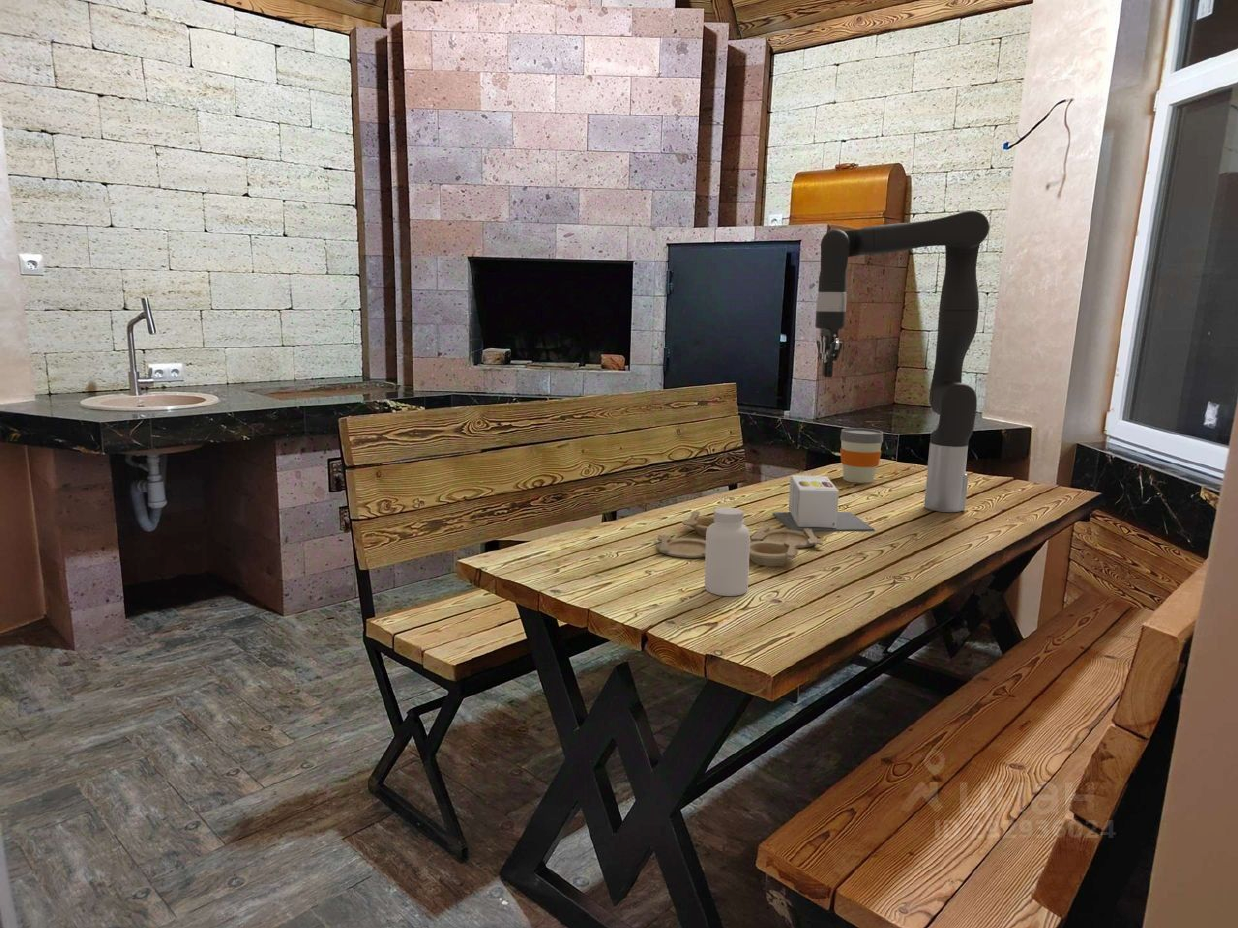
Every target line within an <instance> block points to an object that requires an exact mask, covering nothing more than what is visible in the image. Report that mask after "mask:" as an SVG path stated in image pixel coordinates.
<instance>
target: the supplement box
mask: <svg viewBox="0 0 1238 928" xmlns="http://www.w3.org/2000/svg"><path fill="white" fill-rule="evenodd" d="M839 493H840V491H839V490H838V488H837V487H836V486H835V485H834V483H833V482H832V481H831V480H830V479H829V477H828V476H820V475H800V474H799V475H795V474H793V475H790V480H789V496H788V497H789V498H788V511H789V512H790V513H791V515H792V517H793V519H794V520H795V522H796V524H797V526H798V527H824V528H836V526H837V512H839V510H838V507H839Z"/></svg>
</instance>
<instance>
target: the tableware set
mask: <svg viewBox="0 0 1238 928" xmlns="http://www.w3.org/2000/svg"><path fill="white" fill-rule="evenodd" d="M713 523H715V522H714V515H701V516H700V511H697V510H693V511H692V512H691V514H690V516H689V518H688V519H684V520H682V521H681V524H682V525H684V526H688V527H691V528H693V529H694V530H696V533H697V534H698V535H700V536H703V537H706V531H707V528H708V527H709V526H710V525H711V524H713ZM657 541H658V544H657V547H656V548H657V550H658V551H659V553H662V554H664V555H668V556H671V557H675V558H682V559H684V558H685V559H697V558H705V553H706V539H700V538H694V537H693V538H689V537H677V538H672V536H671V534H663V535H662V534H657ZM815 545H819V546H823V545H824V542H823V541H822V540H821V539H819V538H818V537H817V536H816V535H814V531H812V529H809V528H805V529H804V531H797V530H790V529H789V528H786V529H785V528H781V529H780V528H779V529H778V528H776V529H770V526H769V525H768V526H767V525H764V526H762V527H761V528H760V529H759V530H758V531H757V532H756V533H754V534H752V536H750V551H749V558H750V559H751V561H752V562H753V563H754V564H756V565H759V566H763V565H764V566H765V567H781V566H784V565H786V563H787V561H788V560H789V559H795V558H796V556H797V555H798V553H799V549H804V548H810V547H813V546H815ZM783 564H784V565H783Z"/></svg>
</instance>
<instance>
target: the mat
mask: <svg viewBox="0 0 1238 928" xmlns="http://www.w3.org/2000/svg"><path fill="white" fill-rule="evenodd" d="M772 515H774V516H775V517H776V518H777V519H778V520H779V522H780V523H782V524H783V525H784V526H785V527H786V529H788V530H797V531H803V532H804V529H805V528H809V529H812V531H813V532H864V531H865V532H870V531H871V532H872V531H873V532H876V531H875V528H874V527H872V526H871V525H869V524H868V523H866V522H865V521H864V520H862V519H861V518H859V517H858V516H856V515H855V514H853V513H852V512H851V511H837V526H836V528H824V527H798V526H797V524H796V522H795V520H794V519H793V517H792V515H791V513H790V511H789V512H788V511H787V512H786V511H784V512H783V511H780V512H779V511H777V512H772Z"/></svg>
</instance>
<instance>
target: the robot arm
mask: <svg viewBox="0 0 1238 928" xmlns="http://www.w3.org/2000/svg"><path fill="white" fill-rule="evenodd" d="M989 231H990V223H989V219H988V218H987V216H986V215H985V214H984V213H983V212H980V211H978V210H976V209H964V210H962V211H960V212H958V213H954V214H951V215H947V216H943V217H939V218H934V219H929V220H923V221H912V222H901V223H900V222H899V223H889V224H881V225H880V224H879V225H870V226H866V227H863V228H859V229H852V230H849V229H848V230H842V229H831V230H829V231H827V232H826V233H825V234H824V235H823V237H822V239H821V241H820V271H819V276H818V277H819V278H818V289H817V296H816V297H817V298H816V306H815V307H816V309H815V326H814V327H815V328H816V329H821V331H820V336H819V339H818V340H816V347H817V348H816V349H817V352H818V357H819V360H821V362H822V370H821V371H822V372H821V373H822V375H821V376H822V377H824V378H832V377H833V370H834V363H835V361H836V362H837V360H838V358H839V356H840V353H841V350H842V347H843V342H842V341H840V333H839V330H843V329H845V328H846V319H847V318H846V316H847V303H848V302H847V301H848V300H847V286H848V284H847V283H848V278H847V277H848V275H847V274H848V273H847V272H848V271H847V270H848V269H847V268H848V261H849V258H853V257H857V256H871V255H872V256H873V255H881V254H882V255H883V254H889V253H896V252H902V251H908V250H912V249H917V248H918V249H919V248H925V247H937V246H938V247H940V246H942V247H943V246H944V251H945V252H944V253H945V254H944V255H945V258H944V259H945V265H944V266H945V267H944V276H943V277H944V278H943V281H942V286H941V288H942V289H941V293H940V294H941V295H940V301H939V309H938V310H939V311H938V321H937V322H938V323H937V337H936V338H937V339H936V347H935V348H936V350H935V353H936V354H935V362H934V369H933V374H932V378H931V379H932V380H931V385H930V390H929V397H928V402H929V405H930V408H931V410H932V411H933V412H934V413H935V414H937V415H938V416H939V419H938V420H939V421H938V426H937V428H936V429H935V430H933V431H932V432H931V433H930V437H929V438H930V440H929V447H928V448H929V449H928V460H927V472H926V482H925V494H924V503H923V506H924V508H926V509H927V510H930V511H934V512H935V511H936V512H943V513H956V512H957V513H959V512H961V511H966V506H967V505H966V502H967V494H968V484H969V475H968V474H967V473H966V469H967V460H968V449H969V440H970V438H971V436H972V435H973V432H974V427H975V426H974V425H975V422H976V421H975V420H976V415H977V413H976V412H977V407H978V403H977V398H978V397H977V394H976V391H975V390H974V388H973V387H971V386H970V385H969V384H966V383H963V382H962V381H963V380H962V378H963V366H964V360H965V357H966V355H967V352H968V350H969V349H970V347H971V344H972V342H973V341H974V338H975V335H976V332H977V328H978V321H979V320H978V319H979V310H980V308H979V307H980V302H979V301H980V298H979V288H978V280H977V261H978V256H979V255H978V254H979V249H980V246H981V245H980V244H981V243H982V242H984V240H985V239H986V237H988V234H989Z"/></svg>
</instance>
